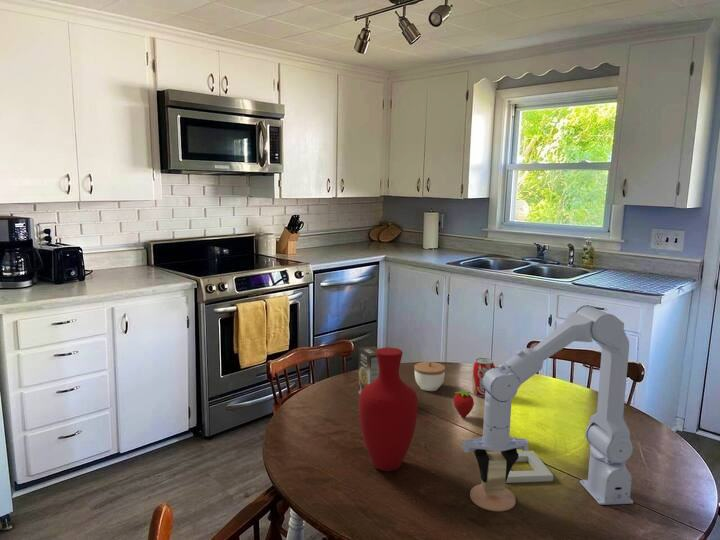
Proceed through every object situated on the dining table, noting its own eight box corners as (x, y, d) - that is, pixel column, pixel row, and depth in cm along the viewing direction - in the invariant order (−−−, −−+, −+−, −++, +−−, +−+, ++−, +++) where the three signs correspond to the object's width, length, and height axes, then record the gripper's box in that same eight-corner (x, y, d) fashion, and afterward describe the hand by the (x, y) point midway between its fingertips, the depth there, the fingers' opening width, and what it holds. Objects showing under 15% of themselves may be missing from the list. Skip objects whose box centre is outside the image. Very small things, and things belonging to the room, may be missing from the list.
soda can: (471, 397, 180) (472, 362, 178) (473, 389, 186) (474, 356, 184) (492, 399, 178) (494, 365, 176) (493, 392, 184) (495, 358, 182)
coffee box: (357, 393, 181) (357, 347, 179) (374, 390, 184) (375, 345, 181) (368, 403, 173) (369, 355, 171) (386, 400, 176) (387, 353, 173)
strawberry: (457, 424, 159) (458, 392, 157) (449, 413, 166) (450, 382, 165) (476, 423, 160) (478, 391, 158) (467, 412, 167) (469, 382, 166)
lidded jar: (449, 386, 189) (450, 360, 187) (436, 396, 180) (437, 369, 178) (421, 380, 195) (422, 355, 193) (408, 389, 186) (409, 363, 184)
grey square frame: (553, 481, 129) (553, 475, 129) (504, 482, 128) (504, 477, 127) (532, 456, 141) (533, 450, 140) (488, 457, 139) (488, 452, 139)
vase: (349, 456, 139) (350, 345, 135) (401, 447, 145) (403, 339, 140) (370, 485, 126) (372, 363, 121) (426, 474, 131) (430, 356, 126)
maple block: (504, 494, 119) (506, 460, 118) (487, 494, 119) (488, 461, 118) (498, 484, 123) (500, 451, 122) (481, 484, 123) (483, 452, 122)
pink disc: (522, 510, 117) (522, 508, 117) (477, 512, 116) (477, 509, 116) (506, 485, 127) (506, 482, 127) (464, 486, 126) (464, 484, 126)
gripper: (521, 414, 123) (517, 469, 125) (459, 415, 122) (457, 471, 124) (534, 428, 116) (530, 485, 118) (468, 429, 115) (465, 488, 117)
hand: (493, 479), depth 121 cm, fingers closed on maple block, 4 cm apart
